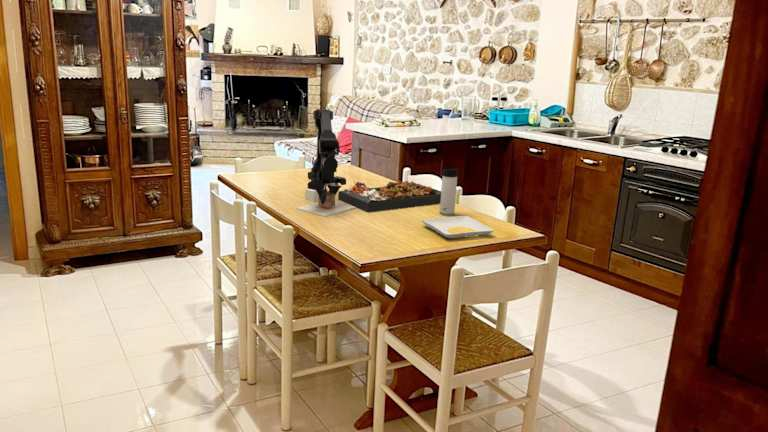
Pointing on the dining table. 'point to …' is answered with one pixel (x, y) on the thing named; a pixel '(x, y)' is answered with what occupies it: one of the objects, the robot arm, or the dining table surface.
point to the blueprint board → (326, 209)
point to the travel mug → (448, 191)
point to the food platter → (389, 196)
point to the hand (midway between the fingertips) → (326, 203)
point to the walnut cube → (328, 200)
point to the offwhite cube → (311, 195)
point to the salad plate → (456, 221)
